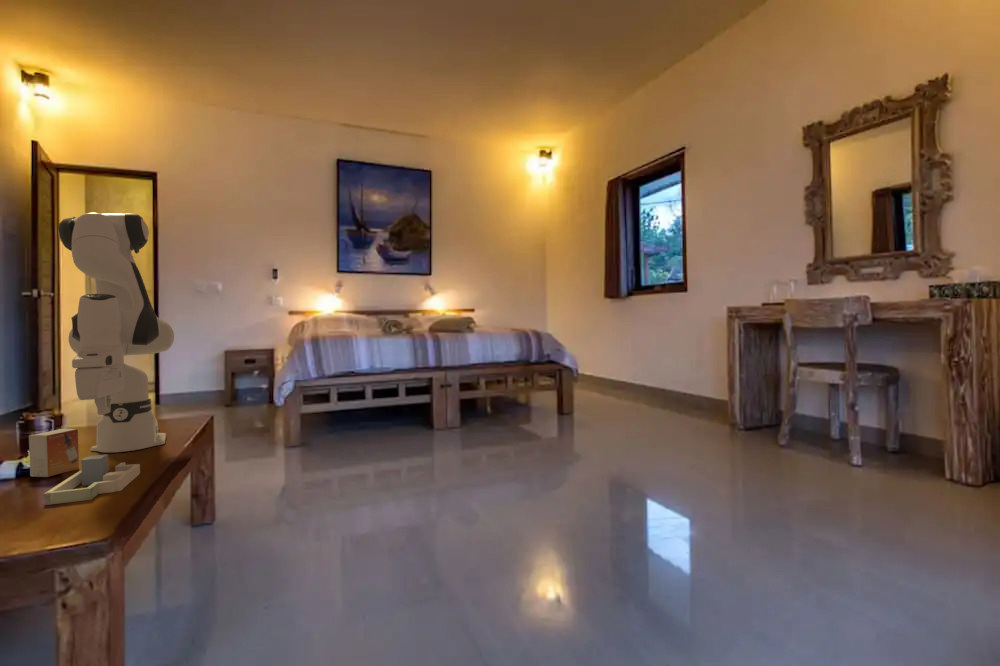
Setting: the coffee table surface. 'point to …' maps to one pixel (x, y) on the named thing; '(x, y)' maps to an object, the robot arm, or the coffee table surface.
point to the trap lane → (92, 485)
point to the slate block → (94, 468)
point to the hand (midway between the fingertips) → (104, 413)
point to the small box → (53, 452)
